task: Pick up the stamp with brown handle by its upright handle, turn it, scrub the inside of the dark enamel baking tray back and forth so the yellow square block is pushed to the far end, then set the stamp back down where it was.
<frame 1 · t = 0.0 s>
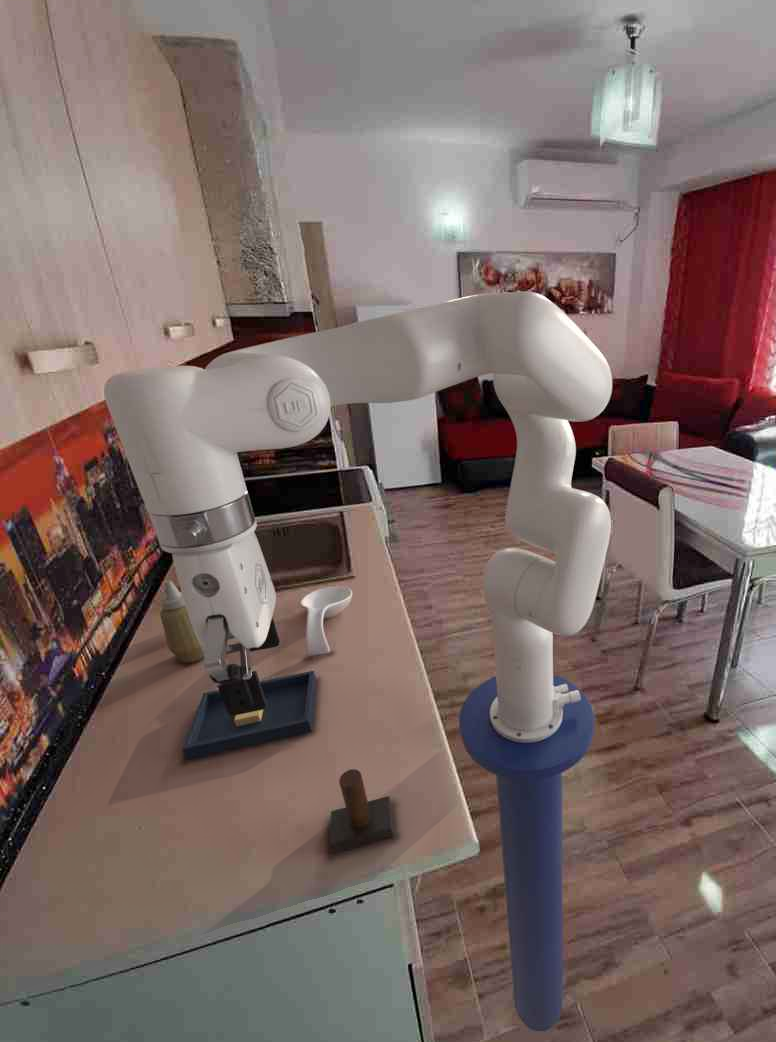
hand: (257, 676, 51), 32 cm above the worktop, tool pointing down, fingers open, 9 cm apart
yellow square block: (250, 716, 91), resting on tray
stamp with brown handle: (363, 828, 70), on the worktop
tray: (257, 716, 91), on the worktop
squeeze bottle: (196, 655, 109), on the worktop
can: (241, 608, 125), on the worktop
spoon rest: (327, 625, 116), on the worktop
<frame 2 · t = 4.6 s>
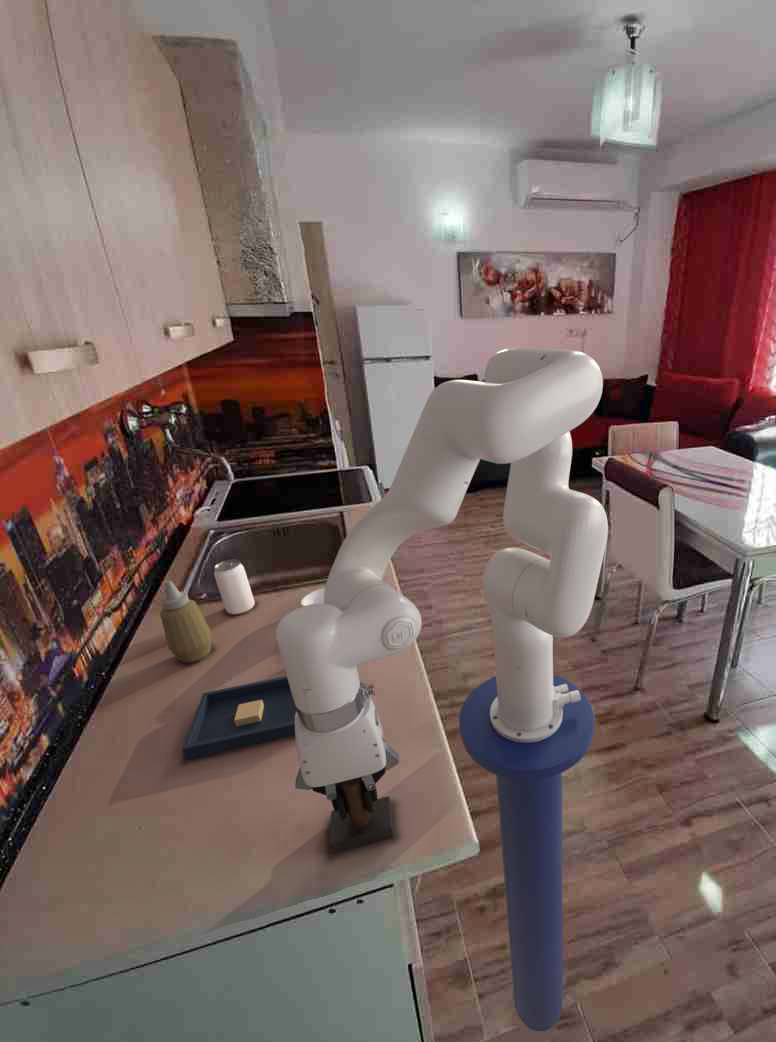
hand: (357, 806, 68), 5 cm above the worktop, tool pointing down, fingers closed on stamp with brown handle, 2 cm apart
stamp with brown handle: (363, 828, 70), on the worktop, touching gripper
everything else where it was.
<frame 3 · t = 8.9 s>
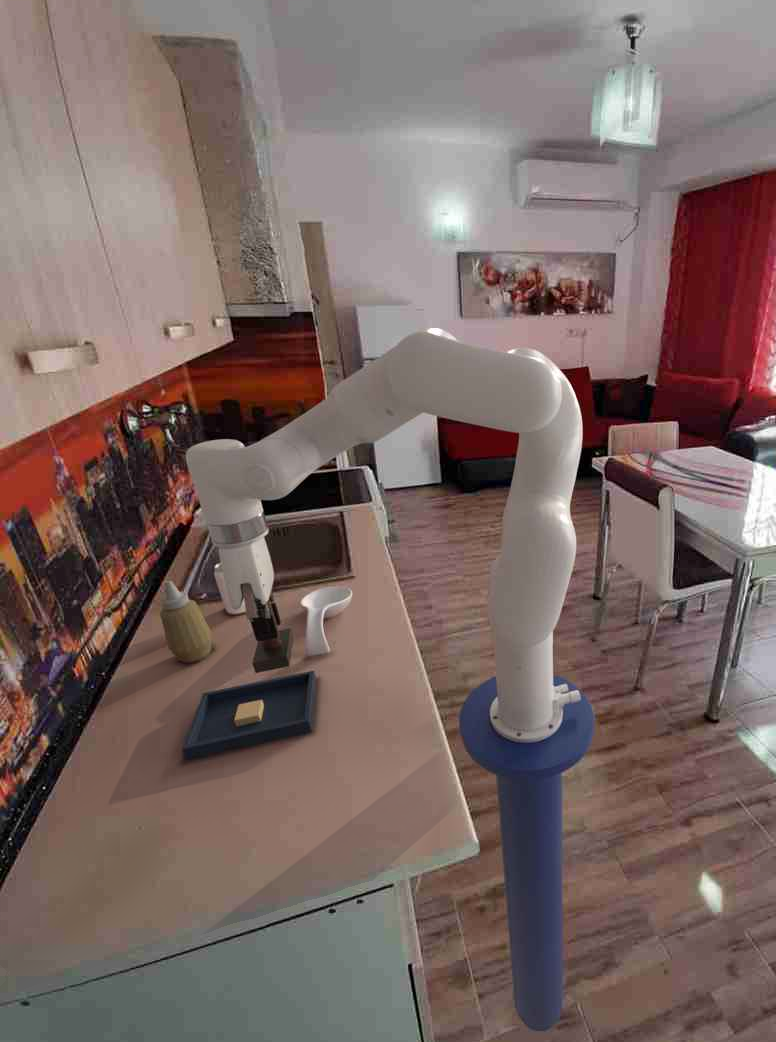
hand: (268, 631, 81), 19 cm above the worktop, tool pointing down, fingers closed on stamp with brown handle, 2 cm apart
stamp with brown handle: (275, 654, 83), point 15 cm above the worktop, touching gripper
everything else where it was.
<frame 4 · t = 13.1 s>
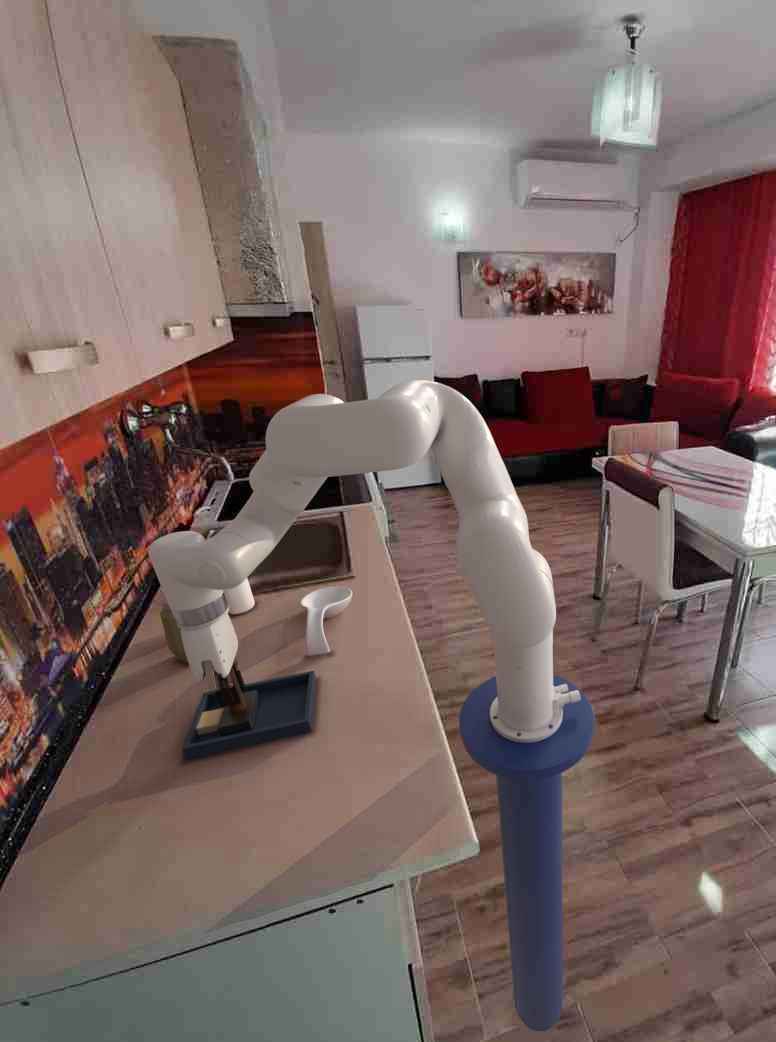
hand: (233, 696, 88), 5 cm above the worktop, tool pointing down, fingers closed on stamp with brown handle, 2 cm apart
yellow square block: (214, 724, 89), point 1 cm above the worktop, touching stamp with brown handle, tray
stamp with brown handle: (241, 716, 90), point 1 cm above the worktop, touching yellow square block, gripper
everything else where it was.
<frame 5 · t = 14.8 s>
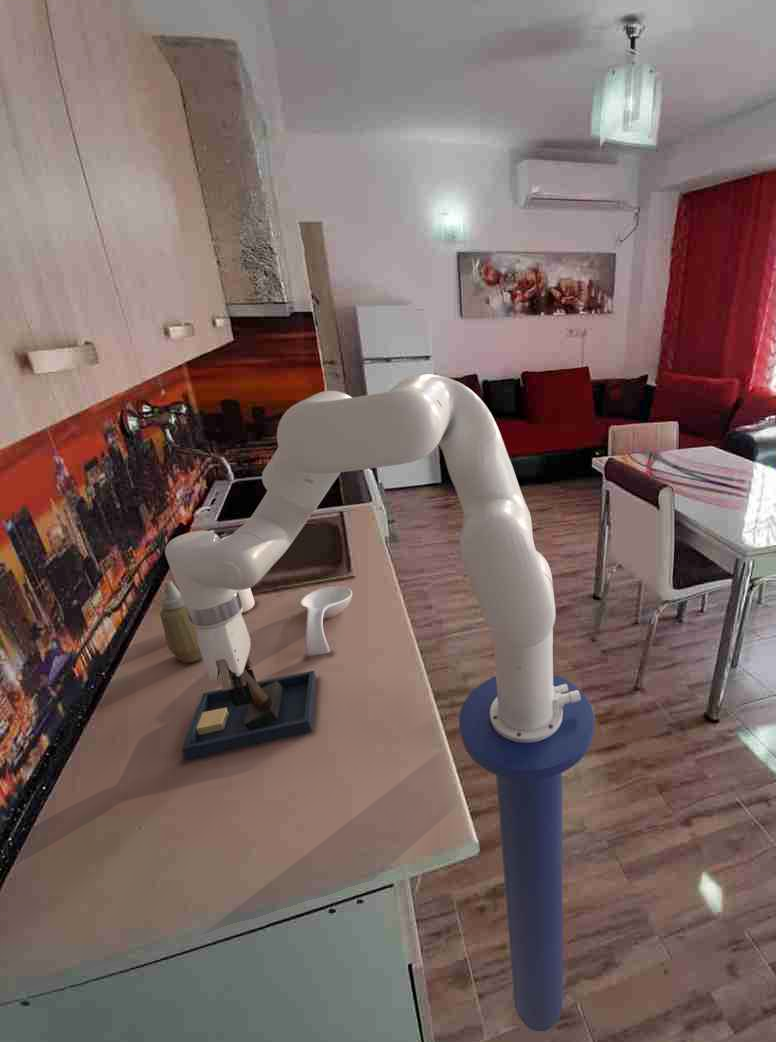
hand: (246, 695, 89), 5 cm above the worktop, tool pointing down, fingers closed on stamp with brown handle, 2 cm apart
yellow square block: (214, 724, 89), resting on tray
stamp with brown handle: (267, 708, 91), point 1 cm above the worktop, tilted 19°, touching gripper
everything else where it was.
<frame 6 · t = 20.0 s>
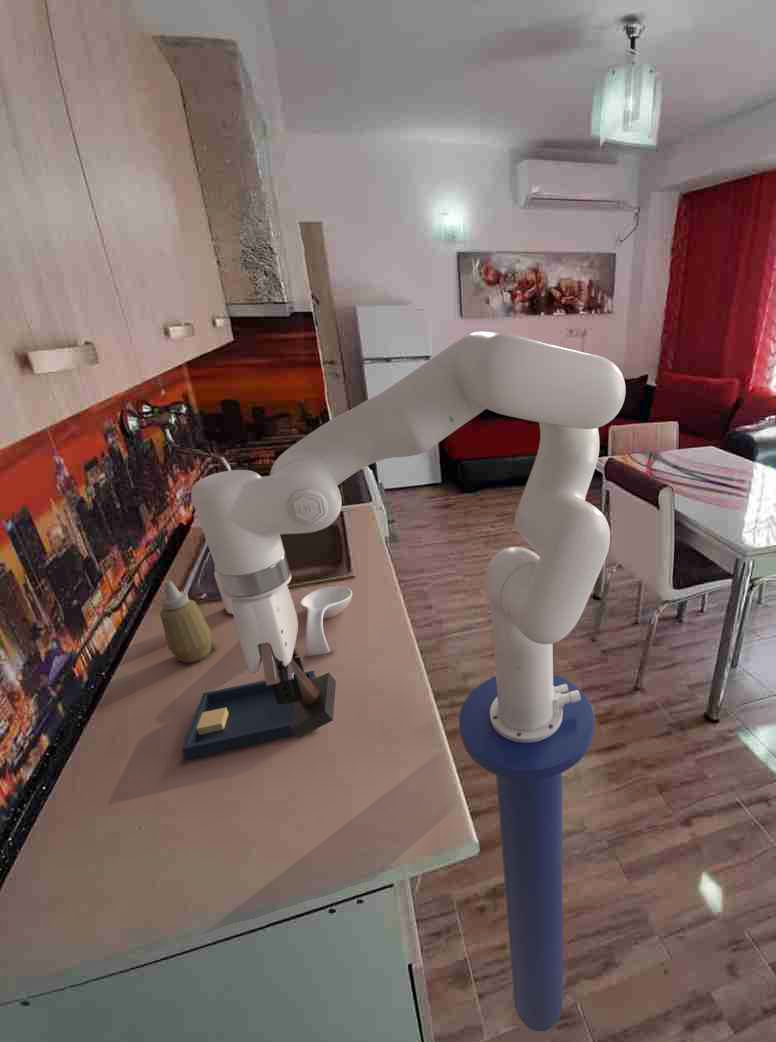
hand: (292, 690, 69), 19 cm above the worktop, tool pointing down, fingers closed on stamp with brown handle, 2 cm apart
stamp with brown handle: (318, 707, 71), point 15 cm above the worktop, tilted 19°, touching gripper
everything else where it was.
when the fingers open (5 cm above the worktop, at t = 25.0 s): stamp with brown handle stays where it is, on the worktop.
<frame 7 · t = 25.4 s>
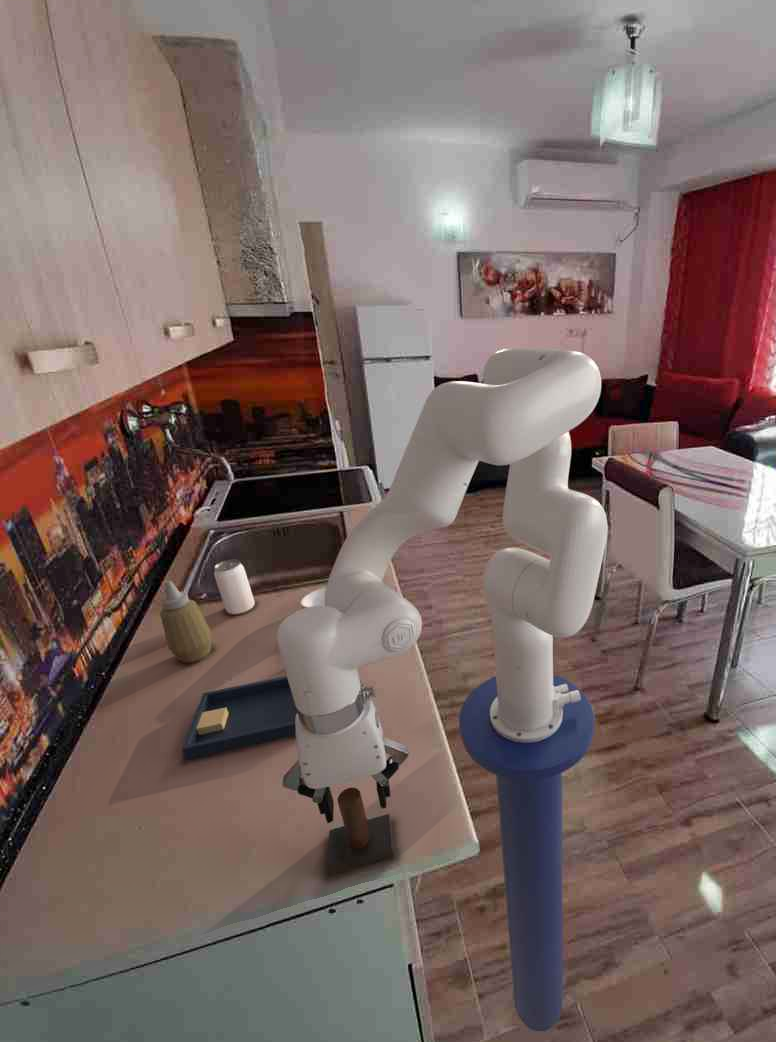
hand: (357, 805, 68), 5 cm above the worktop, tool pointing down, fingers open, 6 cm apart
stamp with brown handle: (362, 848, 68), on the worktop
everything else where it was.
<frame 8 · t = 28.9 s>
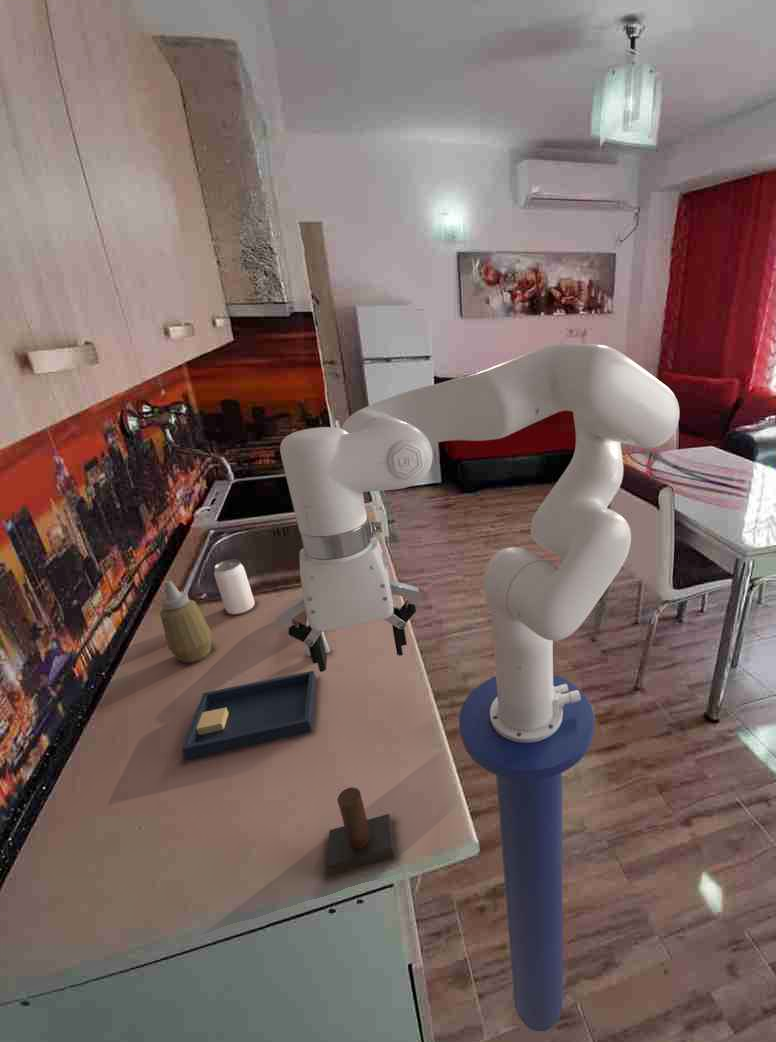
hand: (362, 656, 66), 24 cm above the worktop, tool pointing down, fingers open, 9 cm apart
nothing on the worktop moved.
at the end: yellow square block inside the target area in the tray (0.8 cm from its centre), point 0.5 cm above the tray's base; stamp with brown handle inside the target area (2.9 cm from its centre), on the worktop; the gripper is holding nothing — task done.
